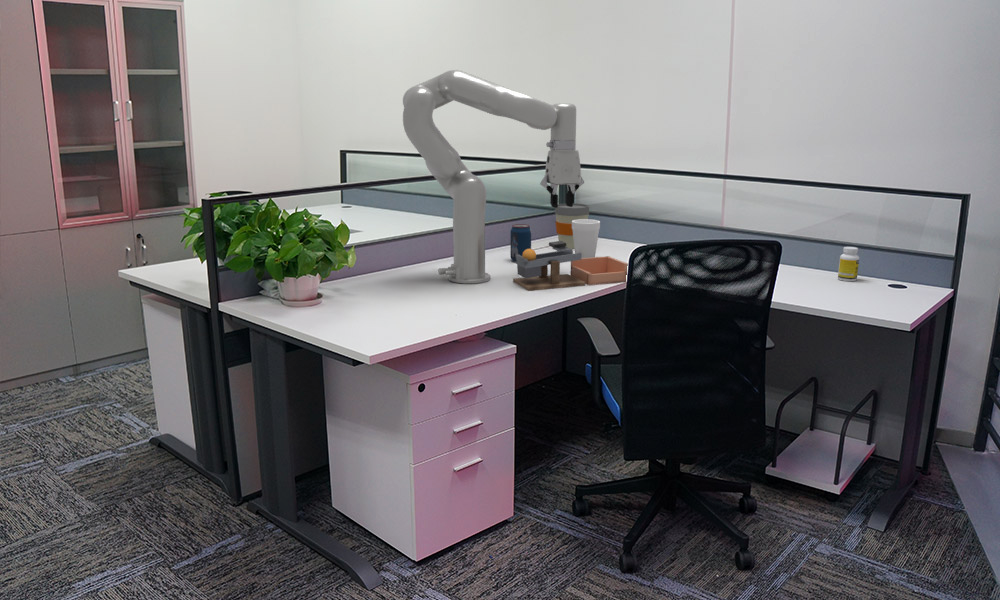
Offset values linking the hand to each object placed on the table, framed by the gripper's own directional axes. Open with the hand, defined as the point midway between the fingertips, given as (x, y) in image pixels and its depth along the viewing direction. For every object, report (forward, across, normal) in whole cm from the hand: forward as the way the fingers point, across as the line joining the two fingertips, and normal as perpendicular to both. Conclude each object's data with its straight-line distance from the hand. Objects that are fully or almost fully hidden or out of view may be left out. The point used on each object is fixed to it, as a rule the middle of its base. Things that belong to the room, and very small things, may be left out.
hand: (562, 206), depth 252 cm
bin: (+21, +8, -10) cm, 25 cm away
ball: (+12, -15, -10) cm, 22 cm away
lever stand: (+21, -9, -10) cm, 25 cm away
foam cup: (+22, +17, +18) cm, 33 cm away
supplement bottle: (+22, +77, -38) cm, 89 cm away
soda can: (+22, -4, +24) cm, 32 cm away
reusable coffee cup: (+22, +23, +41) cm, 52 cm away
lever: (+18, -8, -6) cm, 20 cm away
